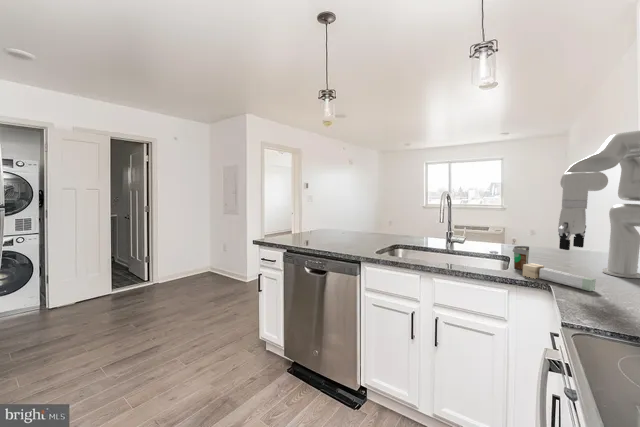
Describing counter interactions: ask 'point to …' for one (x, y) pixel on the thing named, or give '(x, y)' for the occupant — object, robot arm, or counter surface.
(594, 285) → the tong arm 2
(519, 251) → the food container
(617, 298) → the counter surface
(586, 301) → the counter surface
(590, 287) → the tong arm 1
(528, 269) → the hinge block
